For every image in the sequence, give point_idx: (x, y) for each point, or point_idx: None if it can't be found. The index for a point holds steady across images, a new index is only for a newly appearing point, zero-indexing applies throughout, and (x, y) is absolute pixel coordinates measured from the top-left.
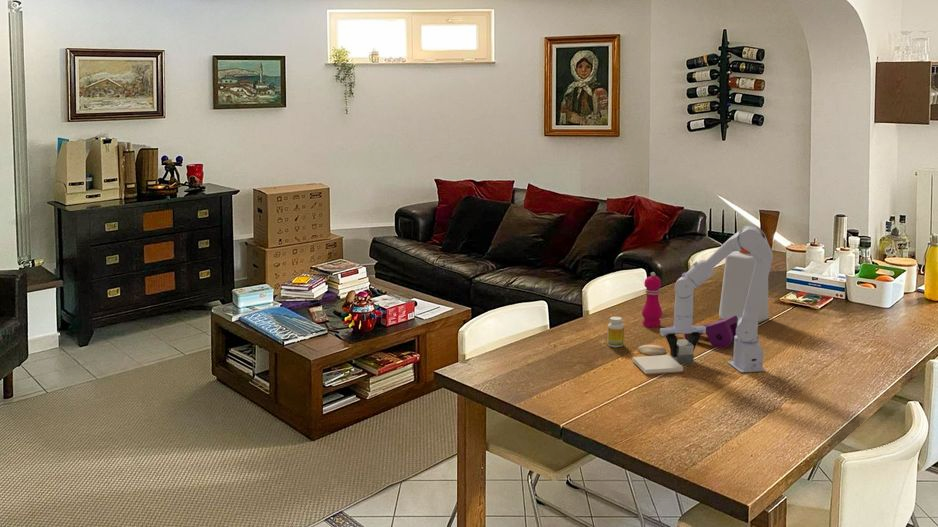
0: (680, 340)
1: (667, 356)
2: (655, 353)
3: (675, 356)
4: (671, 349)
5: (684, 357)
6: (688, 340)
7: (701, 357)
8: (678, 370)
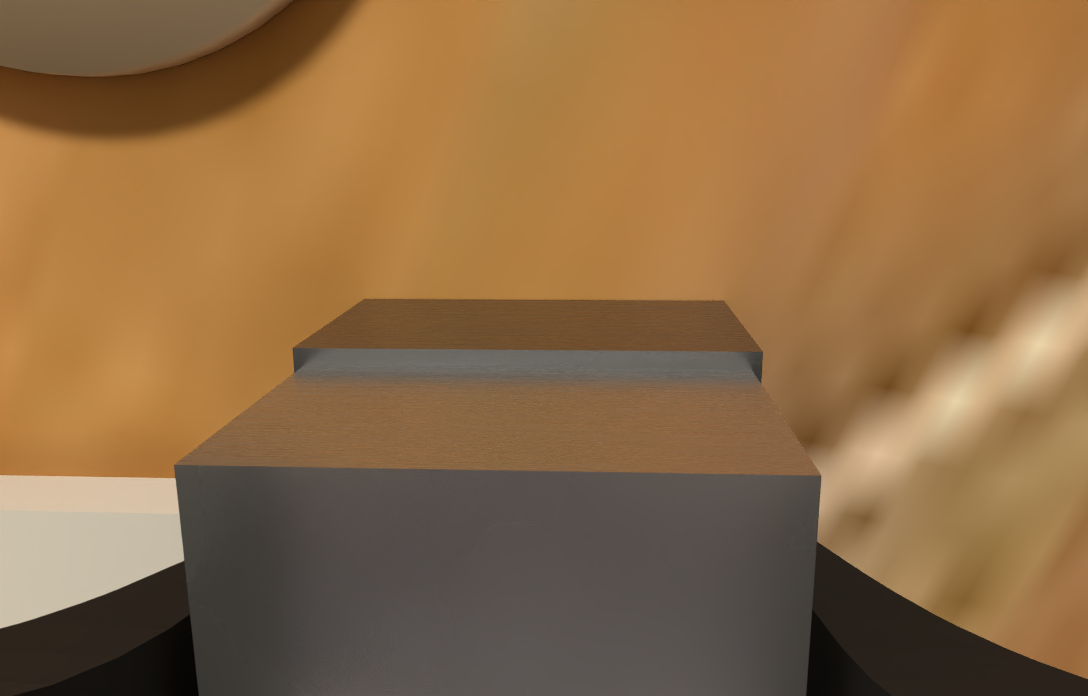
0: (524, 608)
1: None
2: (46, 72)
3: None
4: None
5: None
6: (844, 692)
7: (1069, 435)
8: None
